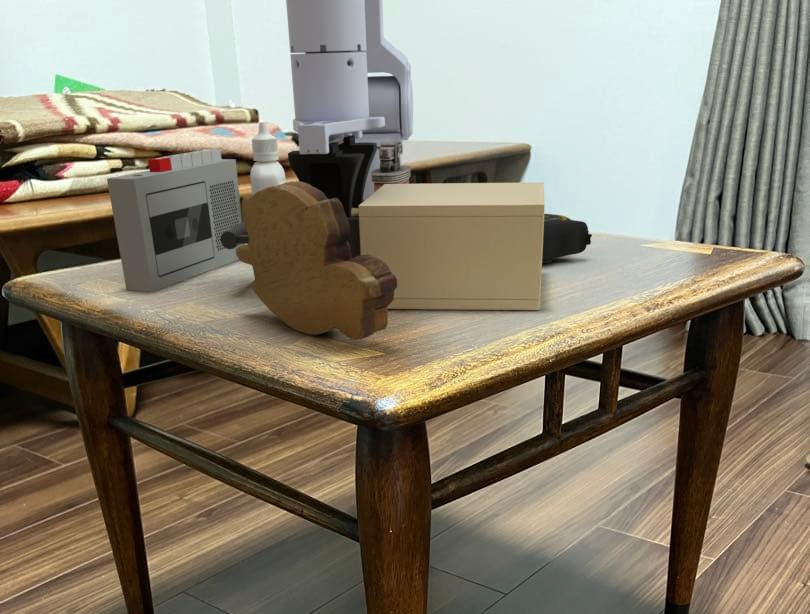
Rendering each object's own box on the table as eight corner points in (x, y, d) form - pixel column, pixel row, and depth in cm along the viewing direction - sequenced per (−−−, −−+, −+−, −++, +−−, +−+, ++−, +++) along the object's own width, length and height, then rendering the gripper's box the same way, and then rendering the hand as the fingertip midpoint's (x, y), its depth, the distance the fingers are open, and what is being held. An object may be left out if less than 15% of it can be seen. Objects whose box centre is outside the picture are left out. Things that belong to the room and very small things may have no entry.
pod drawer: (215, 294, 70) (205, 217, 67) (255, 264, 80) (248, 197, 77) (427, 295, 68) (426, 216, 65) (441, 265, 78) (441, 195, 75)
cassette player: (152, 291, 75) (131, 165, 70) (126, 289, 76) (104, 165, 71) (246, 256, 88) (234, 148, 83) (223, 255, 89) (209, 147, 84)
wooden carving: (420, 345, 59) (417, 186, 54) (370, 360, 56) (362, 195, 52) (272, 306, 70) (259, 170, 65) (224, 317, 67) (206, 177, 62)
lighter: (401, 256, 86) (399, 145, 81) (368, 255, 87) (363, 145, 82) (417, 241, 93) (415, 138, 88) (386, 240, 94) (382, 138, 89)
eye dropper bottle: (306, 247, 91) (296, 120, 85) (280, 258, 87) (268, 124, 81) (269, 246, 93) (257, 120, 87) (242, 256, 88) (227, 124, 82)
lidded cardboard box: (363, 308, 68) (358, 205, 65) (387, 274, 79) (384, 183, 75) (539, 310, 66) (544, 204, 63) (539, 274, 77) (543, 182, 74)
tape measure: (532, 270, 79) (534, 227, 77) (487, 258, 84) (488, 217, 82) (590, 261, 82) (593, 219, 80) (543, 249, 87) (545, 210, 85)
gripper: (364, 51, 59) (372, 259, 65) (395, 52, 71) (399, 226, 78) (262, 54, 60) (280, 259, 66) (310, 54, 72) (322, 227, 79)
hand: (339, 242), depth 72 cm, fingers closed on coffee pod, 4 cm apart
